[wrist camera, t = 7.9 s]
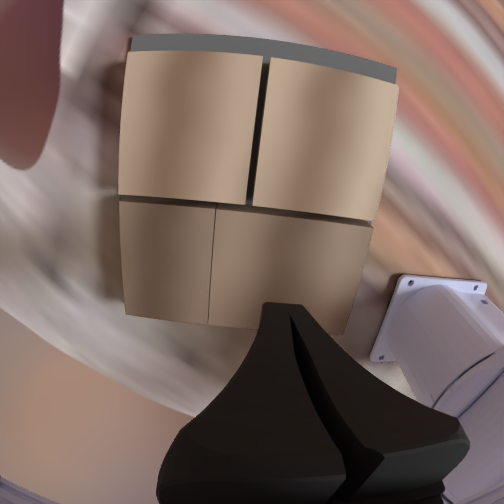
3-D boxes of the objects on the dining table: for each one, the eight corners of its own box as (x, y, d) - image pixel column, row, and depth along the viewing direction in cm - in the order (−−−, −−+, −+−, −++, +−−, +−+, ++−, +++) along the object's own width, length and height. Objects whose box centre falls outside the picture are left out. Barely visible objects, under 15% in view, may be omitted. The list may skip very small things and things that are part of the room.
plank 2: (386, 87, 16) (399, 85, 14) (364, 212, 19) (375, 221, 18) (268, 62, 16) (271, 57, 14) (251, 197, 19) (252, 205, 17)
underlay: (394, 68, 16) (396, 68, 16) (341, 322, 23) (342, 325, 23) (134, 36, 15) (132, 35, 14) (126, 302, 22) (125, 304, 22)
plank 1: (261, 61, 16) (263, 56, 14) (245, 196, 19) (244, 204, 17) (138, 57, 15) (128, 52, 13) (128, 187, 18) (118, 194, 17)
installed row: (363, 218, 19) (373, 227, 18) (336, 319, 22) (343, 334, 21) (129, 193, 18) (119, 201, 17) (133, 300, 21) (125, 314, 20)
